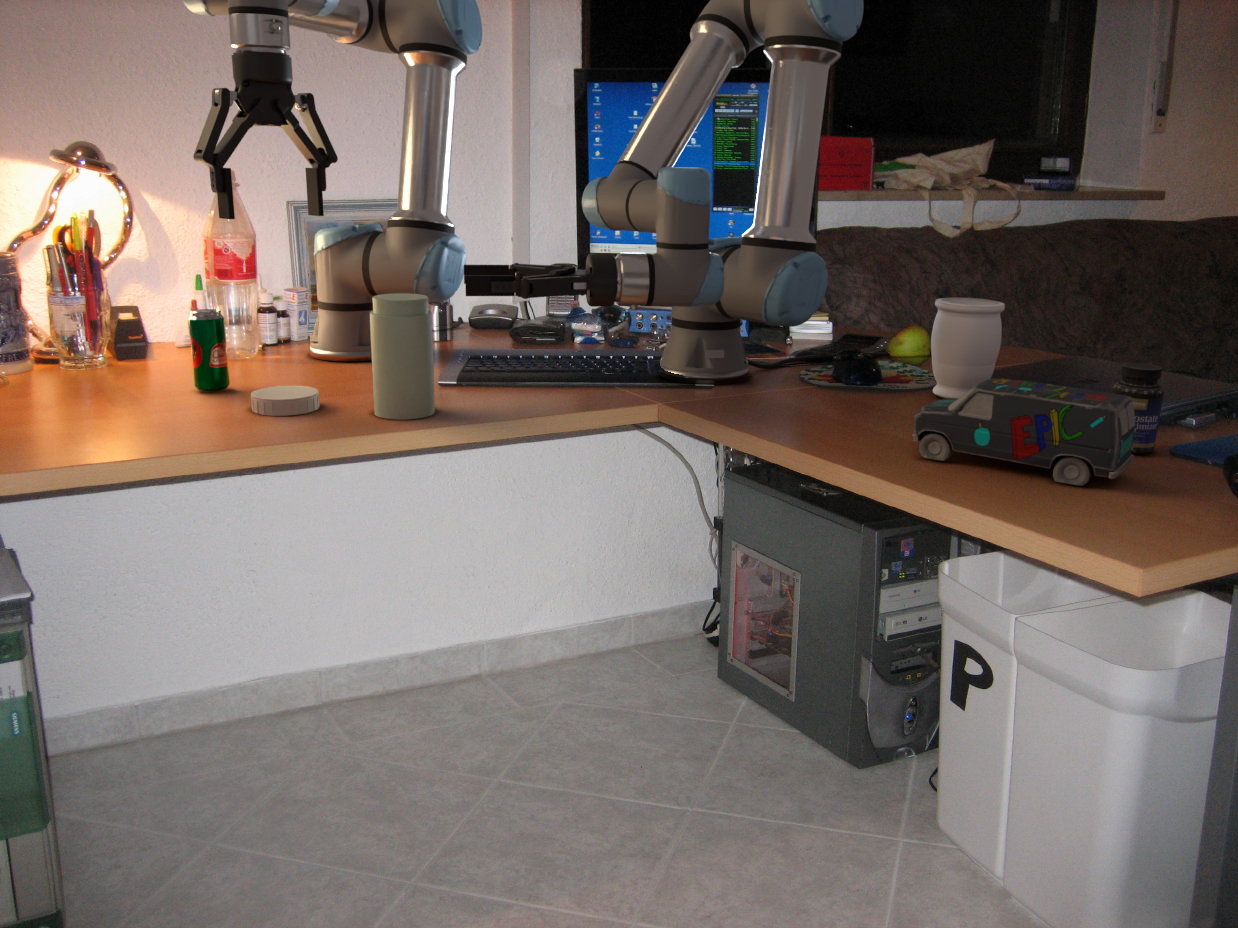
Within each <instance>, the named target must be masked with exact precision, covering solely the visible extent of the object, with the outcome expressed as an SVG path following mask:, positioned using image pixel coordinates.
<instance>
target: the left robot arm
mask: <svg viewBox="0 0 1238 928" xmlns="http://www.w3.org/2000/svg"><path fill="white" fill-rule="evenodd" d="M181 2H182V3H183V5H184V6H185V8H187V10H188V11H190V12H191V13H193V14H195V15H198V16H199V15H200V16H209V17H215V16H228V26H229V41H230V42H229V43H230V47H231V48H232V49H234V50H235V52H233V53H232V55H231V65H232V66H231V67H232V79H233V81H234V85H235V87H234V90H230V89H229V88H228V87H215V88H213V89H212V90H211V106H210V108H209V112H208V115H207V118H206V120H205V123H204V125H203V128H202V131H201V134H200V137H199V139H198V142H197V145H196V147H195V149H194V153H193V156H192V157H193V161H195V162H198V163H201V164H204V166H205V167H207V168H208V171H209V182H210V189H211V192H212V193H216V197H217V198H216V199H217V208H218V209H217V210H218V219H222V220H236V215H235V205H234V204H235V203H234V191H233V190H234V189H233V179H232V178H233V177H232V168H231V167H225V165H226V164H227V162H228V161H229V160H230V158H231V157H232V155H233V154H234V152H235V151H236V149H237V147H238V146H239V145H240V143H241V142H242V140H243V139H244V138H245V135H246V134H247V133H248V131H249V130H250V129H251V128H253V127H254V126H255V127H262V126H263V127H264V126H265V127H279V128H280V129H281V130H282V131H284V132H285V134H286V135H287V137H288V138H289V140H291V142H292V143H293V144H294V146H295V147H296V148H297V150H298V151H299V152H300V154H302V156H303V157H304V158H305V159H306V161H307V162H308V164H309V165H310V166H311V167H305V168H304V169H305V182H306V184H305V185H306V199H307V214H308V215H307V216H312V217H313V216H314V217H324V216H325V214H324V198H323V196H324V195H323V192H326V190H327V172H326V171H327V168H330V166H331V165H332V164H336V163H337V162H338V161H339V158H338V155H337V153H336V151H335V148H334V146H333V144H332V142H331V139H330V137H329V136H328V133H327V131H326V129H325V127H324V125H323V122H322V120H321V118H320V116H319V114H318V112H317V109H316V108H317V107H316V102H315V96H314V94H313V93H311V92H300V93H297V94H294V92H293V89H292V87H293V81H294V78H293V76H294V75H293V62H292V61H293V60H292V57H290V55H289V54H287V52H288V51H290V50H291V36H290V35H291V34H290V28H295V29H300V30H305V31H311V32H316V33H321V34H326V35H327V37H329V38H330V39H331V40H332V41H333V42H336V43H340V44H343V45H348V46H353V47H357V48H362V49H365V50H368V51H372V52H379V53H385V54H392V55H396V54H397V55H398V57H397V59H398V61H399V62H400V63H401V65H402V66H403V67H404V69H405V70H406V71H405V85H404V98H403V99H404V101H403V114H402V115H403V116H402V129H401V130H402V131H401V144H400V146H401V147H400V161H399V162H400V163H399V175H398V190H397V191H398V192H397V206H396V211H395V212H394V213H393V214H392V215H390V216H389V217H388V218H387V221H386V231H383V228H382V226H381V224H380V223H378V222H374V223H364V224H355V225H344V226H336V227H326V228H321V229H319V230H318V231H317V232H316V233H315V235H314V246H313V247H314V249H313V251H314V252H313V257H314V269H315V280H316V284H315V285H316V297H317V310H318V311H317V316H316V321H315V323H314V327H313V331H312V334H309V341H310V342H309V355H310V356H311V357H312V358H314V359H317V360H323V361H331V362H366V361H372V352H371V331H370V312H371V311H373V296H376V295H382V294H398V293H406V294H420V295H425V296H427V297H428V299H429V301H428V303H431V302H432V303H439V302H440V303H441V302H445V301H448V300H450V299H451V298H452V297H454V295H455V294H456V292H457V291H458V290H459V288H460V285H461V284H462V281H463V280H464V265H467V253H466V252H465V249H466V246H465V244H464V241H463V240H462V238H460V236H457V234H455V233H456V226H455V224H454V223H453V222H452V220H451V219H450V218H449V217H448V210H449V209H448V208H449V207H448V206H449V195H450V193H449V192H450V180H451V164H452V154H453V153H452V152H453V151H452V150H453V136H454V123H455V108H456V107H455V106H456V96H457V95H456V94H457V79H458V77H459V75H460V74H462V73H463V72H464V71H465V70H466V69H467V66H468V65H467V64H468V55H473V54H475V53H477V52H478V51H480V47H481V45H482V41H483V24H482V16H481V12H480V9H479V5H478V2H477V0H181ZM233 104H235V105H236V106H237V109H239V110H238V111H237V113H236V114H235V115H234V116H233V118H232V122H231V124H230V125H229V127H228V129H227V130H226V131H225V133H224V135H223V136H221V134H222V131H223V128H224V125H225V123H226V120H227V117H228V115H229V112H230V107H232V106H233ZM293 108H295V109H297V111H298V113H299V116H300V118H301V120H302V122H303V124H304V127H305V128H306V131H307V133H308V134H307V133H306V131H305V130H304V129H303V127H302V126H301V125H300V121H299V119H298V118H297V117H296V116H295V114H294V113H293V111H292V110H293ZM308 135H309V136H308ZM220 136H221V137H222V138H221V139H220ZM462 324H464V320H463V318H462V317H461V316H459V317H457V322H456V323H452V324H451V325H452V328H451V329H456V328H458V327H460V326H461V325H462Z"/></svg>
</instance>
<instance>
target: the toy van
mask: <svg viewBox="0 0 1238 928" xmlns="http://www.w3.org/2000/svg"><path fill="white" fill-rule="evenodd" d="M1135 431H1136V423H1135V415H1134V405H1133V398H1131V397H1130V396H1125V395H1118V394H1112V392H1104V391H1098V390H1093V389H1085V388H1079V387H1073V386H1072V387H1071V386H1065V385H1059V384H1052V383H1043V382H1037V381H1028V380H1020V379H1008V378H1002V377H1001V378H995V377H994V378H991V379H988V380H984V381H982V382H980V383H979V384H977V385H976V386H975V387H974V388H972V389H971V390H970V391H968V392H967V393H966V394H965V395H963V396H962V397H960V398H944V397H943V398H941V399H938V400H936V401H933V402H930V403H928V404H926V405H924V406H922V407H921V408H919V409H918V410H916V411H914V417H913V432H912V434H911V436H912V439H913V442H914V443H919V444H918V449H919V450H918V452H919V454H920V455H921V457H922V458H925V459H929V460H935V461H941V462H947V460H948V459H949V458H950V457H951V456H952V452H956V453H963V454H969V455H974V456H980V457H986V458H991V459H997V460H1002V461H1006V462H1007V461H1008V462H1012V463H1018V464H1022V465H1023V464H1024V465H1029V466H1034V467H1039V468H1042V469H1043V468H1044V469H1052V468H1053V469H1052V478H1053V480H1054V482H1057V483H1061V484H1068V485H1073V486H1080V487H1082V486H1085V485H1086V484H1087V483H1088V482H1089V481H1090V479H1091V476H1092V474H1093V475H1094V476H1095V477H1101V478H1102V477H1103V478H1108V479H1110V480H1115V479H1116V478H1118V477H1119V476H1120V475H1121V474H1122V473H1123V472H1124V471H1125V470H1126V469H1127V467H1128V466H1129V465H1130V464H1131V463H1132V461H1133V460H1134V458H1135V455H1134V453H1131V451H1132V450H1133V441H1134V436H1135Z"/></svg>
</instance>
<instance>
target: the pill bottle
mask: <svg viewBox="0 0 1238 928" xmlns="http://www.w3.org/2000/svg"><path fill="white" fill-rule="evenodd" d="M1162 371H1163V367H1161V366H1158V365H1155V364H1149V363H1142V362H1141V363H1140V362H1126V363H1122V365H1121V369H1120V375H1121V380H1119V381H1116V382H1115V383H1114V384H1113V385H1112V388H1111V393H1112V394H1118V395H1125V396H1130V397H1131V398H1133V405H1134V415H1135V423H1136V431H1135V436H1134V441H1133V450H1132V451H1131V454H1140V455H1141V454H1148V453H1151V452H1153V451H1154V450H1155V448H1156V440H1157V435H1158V428H1159V424H1160V419H1161V418H1160V417H1161V412H1162V407H1163V399H1164V395H1165V391H1164V389H1163V387H1162V386H1161V385H1159V383H1158V381H1159V380H1160V379H1161V377H1162Z"/></svg>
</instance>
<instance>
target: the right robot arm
mask: <svg viewBox="0 0 1238 928" xmlns="http://www.w3.org/2000/svg"><path fill="white" fill-rule="evenodd" d="M863 16H864V0H709V1H708V3H707V4H706V5H705V6H704V7H703V9H702V11H701V12H700V14H699V15H698V17H697V18H696V20H695V21H694V23H693V25H692V27H691V28H690V30H689V31H690V32H689V37H690V43H689V44H688V45H687V47H686V49H685V50H684V52H683V53H682V55H681V57H680V59H678V61H677V64H676V65H675V67H674V68H673V70H672V72H671V73H670V75H669V77H668V78H667V80H666V82H665V83H664V85H663V87H662V88H661V90H660V92H659V93H658V95H657V97H656V98H655V100H654V101H653V103H652V105H651V106H650V108H649V110H648V111H647V113H646V115H645V116H644V118H643V120H642V121H641V123H640V125H639V126H638V128H637V129H636V131H635V133H634V134H633V136H632V138H631V140H630V141H629V142H628V144H627V146H626V147H625V149H624V151H623V153H622V154H621V156H620V157H619V159H618V160H617V162H616V165H615V166H614V168H613V169H612V171H611V172H610V174H609V176H601V177H596V178H593V180H591V181H590V182H588V184H587V185H586V186H585V188H584V191H583V193H582V197H581V209H582V212H583V215H584V217H585V219H586V220H587V221H588V222H589V223H590V224H591V225H593V226H594V227H596V228H599V229H604V230H605V229H606V230H610V231H611V232H612V231H613V232H614V231H624V232H625V231H626V232H639V233H646V234H647V233H648V234H655V235H656V236H655V240H656V241H655V248H656V252H655V253H647V252H619V253H617V254H616V256H615V255H614V254H612V252H608V253H607V252H590V253H589V254H588V255H587V257H586V260H585V269H578V268H577V266H576V265H574V264H568V263H567V264H562V265H558V264H530V263H529V264H528V263H519V262H513V263H512V264H466V265H464V276H463V284H464V285H465V297H518V298H521V299H524V300H528V299H534V298H535V299H536V298H548V297H562V296H563V297H564V296H569V297H571V296H573V297H574V296H585V300H586V303H587V305H588V306H590V307H593V308H595V307H598V308H599V307H604V308H605V307H606V308H607V307H609V308H610V307H612V306H614V305H615V303H616V305H617V306H618V307H630V310H631V311H637V310H638V306H641V307H671V321H670V322H671V325H670V332H669V334H668V337H667V341H666V344H665V346H664V350H663V352H662V356H661V357H660V360H659V363H660V366H661V368H663V369H664V370H665V371H668V372H671V373H674V374H679V375H683V376H687V377H690V378H685V377H678V376H673V375H669V374H666V373H663V372H661V371H660V370H659V369H658V374H659V376H661V378H664V379H667V380H670V381H675V382H680V383H687V384H688V383H689V384H702V385H719V384H722V385H723V384H733V383H739V382H742V381H745V380H747V379H748V378H749V377H750V376H749V375H750V366H752V367H755V368H758V369H764V370H765V369H766V370H767V369H774V368H778V367H780V366H783V365H786V364H790V363H797V362H806V361H815V360H823V359H824V360H825V359H826V360H827V359H834V358H833V357H834V356H836V355H837V354H834V353H825V354H826V355H820V354H810V355H801V356H795V357H787V358H783V359H781V360H778V361H775V362H771V363H760V362H757V361H754V360H750V359H747V354H746V349H745V346H744V341H743V339H742V334H741V321H745V322H753V323H759V324H765V325H768V326H771V327H789V328H790V327H799V326H801V325H803V324H805V323H806V322H808V321H809V320H810V319H811V318H812V317H813V315H814V314H815V313H816V312H818V310H819V308H820V307H821V305H822V303H823V300H824V298H825V295H826V292H827V288H828V284H829V283H828V282H829V281H828V280H829V273H828V269H827V267H826V266H827V264H826V261H825V260H824V259H823V257H822V256H820V255H819V254H818V253H816V251H817V244H818V243H817V242H818V241H817V240H816V238H815V237H814V236H813V234H811V231H810V222H811V221H810V220H811V213H812V203H813V197H814V189H815V181H816V173H817V166H818V158H819V149H820V142H821V134H822V126H823V117H824V109H825V101H826V93H827V87H828V78H829V70H830V68H831V67H832V65H834V64H835V63H836V62H838V61H839V59H841V57H842V49H843V43H844V42H845V41H849V40H850V39H852V37H854V36H855V35H856V34H857V31H858V30H859V29H860V27H861V25H862V21H863ZM762 46H763V54H764V55H765V56H766V58H767V59H768V60H769V62H771V70H770V78H769V88H768V96H767V102H766V103H767V104H766V113H765V121H764V130H763V138H762V139H763V140H762V146H761V147H762V148H761V156H760V163H759V165H760V166H759V173H758V175H759V176H758V181H757V182H758V183H757V191H756V192H757V193H756V199H755V206H754V217H753V223H752V225H751V226H750V228H747V230H746V231H745V232H744V233H742V234H741V236H731V237H730V236H729V237H727V236H726V237H715V238H710V225H711V206H712V201H713V198H712V195H711V194H712V192H711V190H712V189H711V188H712V186H711V185H712V184H711V179H712V178H711V173H710V171H709V170H708V169H706V168H704V167H683V166H682V167H679V166H676V167H675V165H676V162H677V161H678V159H679V158H680V156H681V154H682V152H683V151H684V149H685V147H686V145H687V144H688V142H689V141H690V139H691V137H692V136H693V135H694V132H695V130H696V129H697V127H698V125H699V124H700V122H701V121H702V119H703V118H704V116H705V114H706V112H707V110H708V109H709V107H710V105H711V104H712V102H713V100H714V99H715V98H716V96H717V94H718V92H719V90H720V89H721V87H722V85H723V84H724V82H725V80H726V79H727V77H728V76H729V74H730V72H731V71H732V69H734V68H738V67H740V66H741V65H742V64H743V63H744V61H745V60H746V58H747V56H748V55H749V53H751V52H752V51H753V50H755V49H757V48H759V47H762ZM874 352H875V353H866V354H871V355H874V356H875V357H891V356H890V354H889V353H888V352H889V351H874ZM929 356H932V355H931V351H930V355H929Z"/></svg>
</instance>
